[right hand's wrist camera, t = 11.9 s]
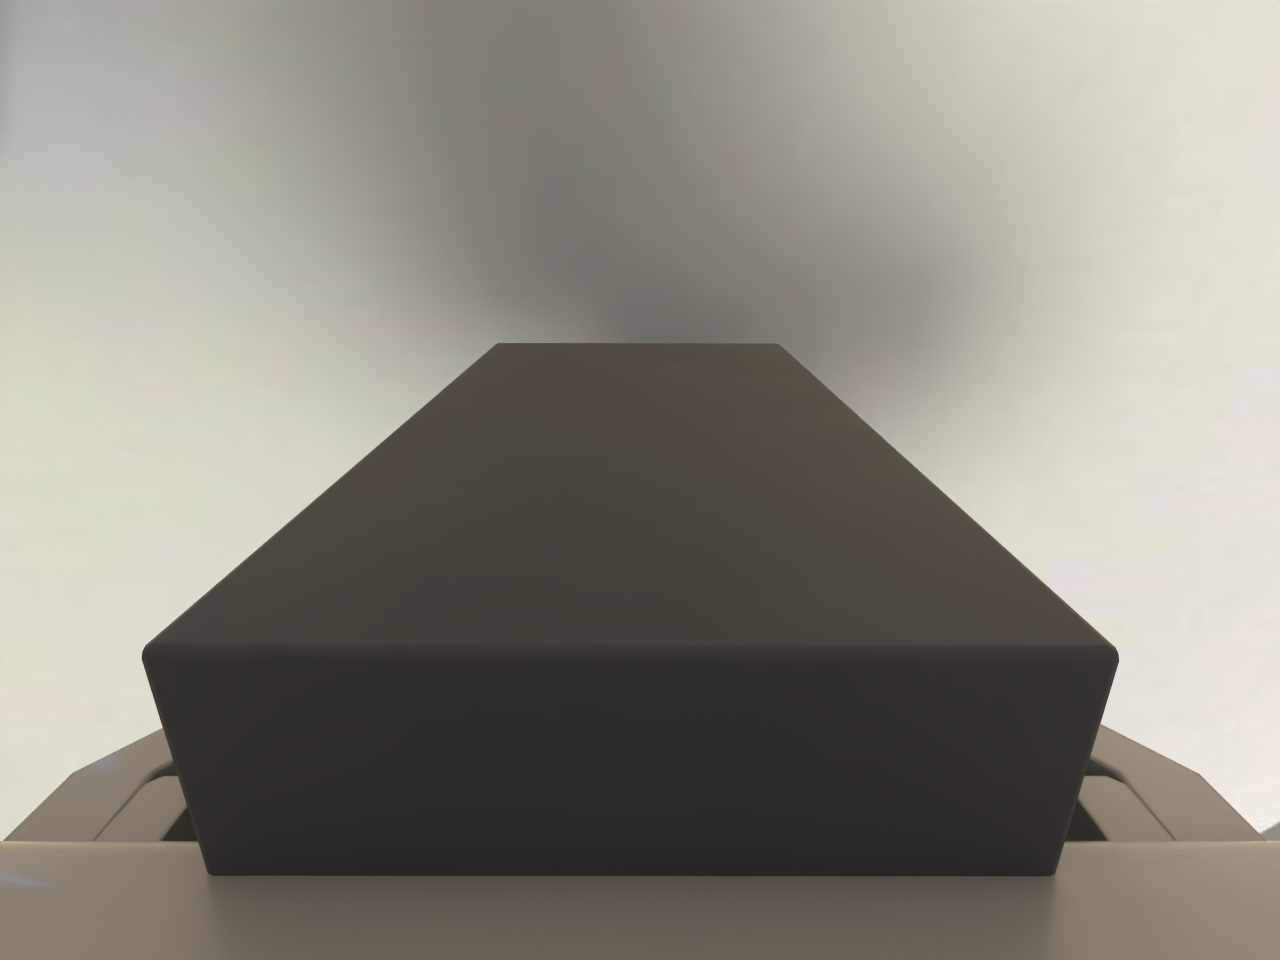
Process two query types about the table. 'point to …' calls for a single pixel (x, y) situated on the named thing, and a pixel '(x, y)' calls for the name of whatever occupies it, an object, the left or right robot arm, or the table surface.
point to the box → (631, 646)
